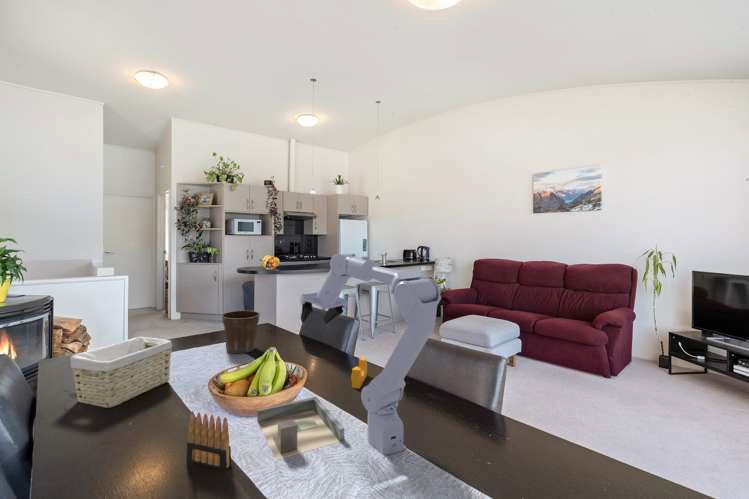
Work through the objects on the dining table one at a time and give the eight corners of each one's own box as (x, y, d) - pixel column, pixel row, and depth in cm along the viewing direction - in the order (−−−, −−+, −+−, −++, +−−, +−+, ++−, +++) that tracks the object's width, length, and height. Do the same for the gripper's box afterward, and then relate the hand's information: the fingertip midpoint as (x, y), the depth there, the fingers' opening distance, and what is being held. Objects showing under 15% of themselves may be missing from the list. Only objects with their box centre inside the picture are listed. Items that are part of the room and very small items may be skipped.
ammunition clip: (231, 468, 82) (231, 415, 81) (226, 474, 80) (225, 419, 80) (192, 459, 85) (192, 408, 84) (186, 464, 83) (185, 412, 83)
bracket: (297, 449, 88) (297, 424, 88) (280, 454, 86) (280, 429, 86) (288, 435, 94) (288, 412, 94) (273, 439, 92) (273, 415, 92)
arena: (344, 443, 92) (344, 428, 92) (276, 463, 84) (276, 446, 84) (315, 410, 110) (316, 396, 110) (257, 423, 101) (257, 409, 101)
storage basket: (106, 412, 107) (106, 361, 106) (67, 403, 112) (66, 355, 111) (174, 381, 129) (174, 339, 129) (139, 375, 134) (139, 335, 134)
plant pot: (267, 348, 168) (268, 313, 167) (237, 358, 154) (237, 320, 153) (244, 342, 176) (244, 308, 176) (213, 351, 163) (213, 314, 162)
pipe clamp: (355, 374, 138) (355, 357, 138) (366, 375, 137) (367, 358, 137) (347, 387, 126) (347, 369, 126) (359, 389, 126) (359, 370, 125)
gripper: (349, 281, 112) (332, 312, 118) (305, 275, 104) (289, 308, 111) (356, 298, 107) (337, 329, 113) (310, 292, 99) (293, 326, 106)
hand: (314, 320), depth 112 cm, fingers open, 7 cm apart
